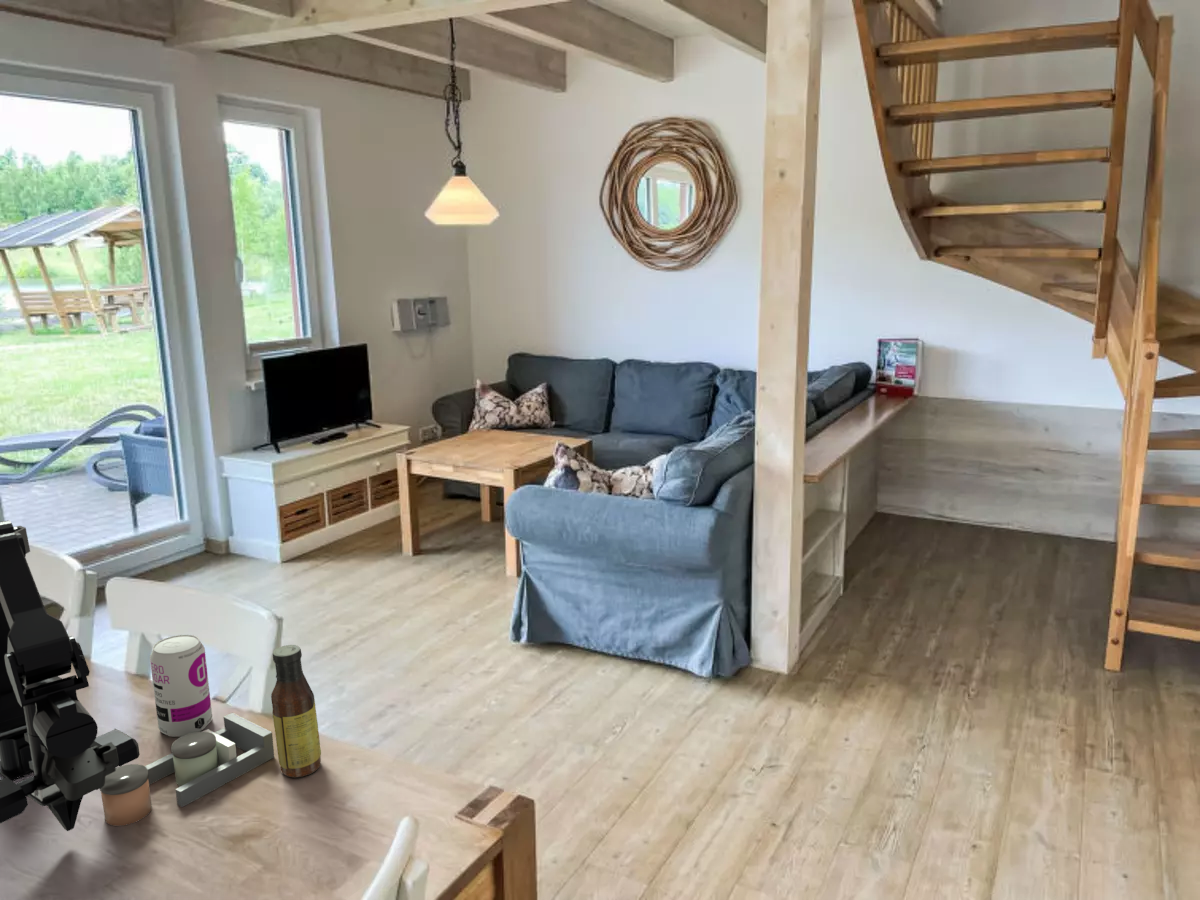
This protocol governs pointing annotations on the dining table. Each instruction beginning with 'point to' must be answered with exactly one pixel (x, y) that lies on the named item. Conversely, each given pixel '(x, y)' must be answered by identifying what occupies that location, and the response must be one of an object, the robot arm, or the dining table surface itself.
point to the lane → (245, 738)
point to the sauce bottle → (294, 715)
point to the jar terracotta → (126, 795)
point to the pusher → (224, 749)
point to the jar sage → (194, 756)
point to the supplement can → (180, 685)
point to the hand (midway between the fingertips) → (69, 829)
